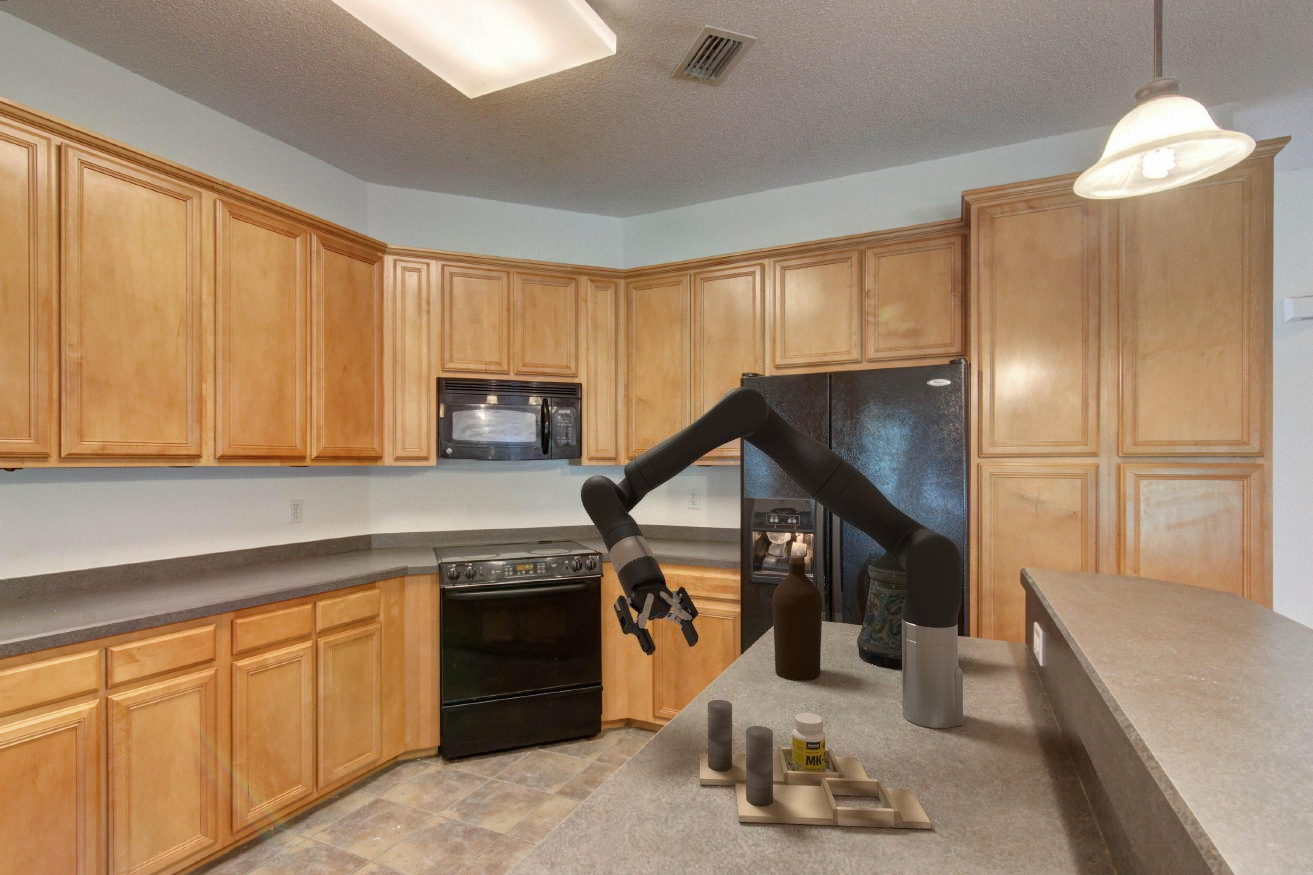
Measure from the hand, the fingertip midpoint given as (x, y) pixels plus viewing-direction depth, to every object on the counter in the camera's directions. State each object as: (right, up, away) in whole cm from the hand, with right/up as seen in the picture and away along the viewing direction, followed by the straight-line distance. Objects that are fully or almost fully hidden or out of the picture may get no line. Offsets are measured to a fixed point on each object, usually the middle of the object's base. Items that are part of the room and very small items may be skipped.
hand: (673, 648), depth 106 cm
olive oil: (+28, -16, +33) cm, 46 cm away
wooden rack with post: (+16, -15, -11) cm, 24 cm away
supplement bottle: (+20, -15, -11) cm, 27 cm away
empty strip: (+20, -15, -20) cm, 32 cm away
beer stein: (+53, -16, +43) cm, 70 cm away
